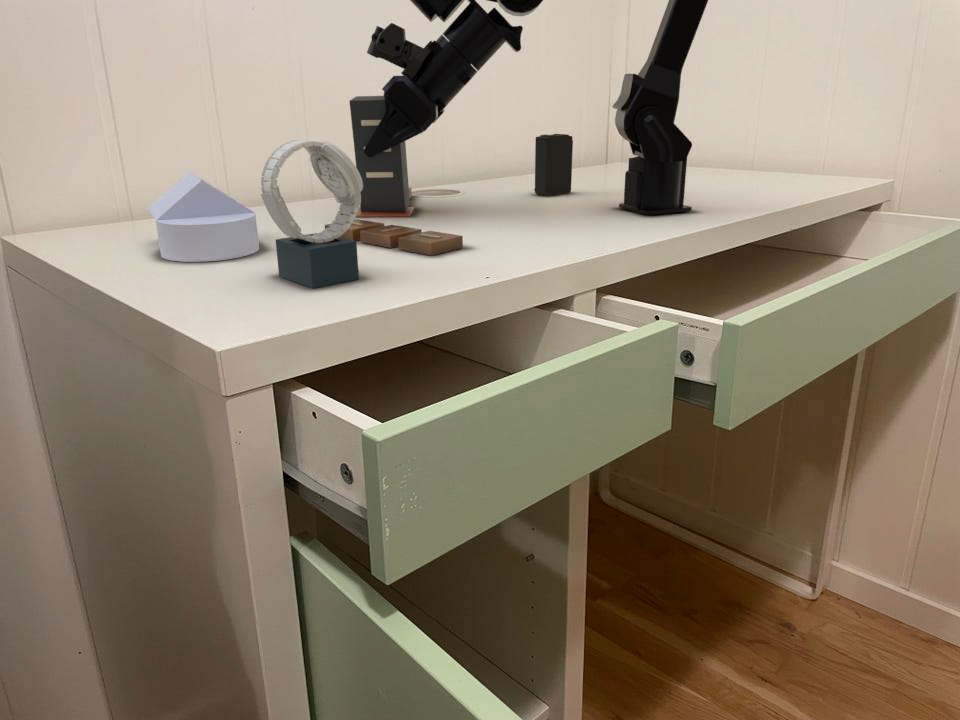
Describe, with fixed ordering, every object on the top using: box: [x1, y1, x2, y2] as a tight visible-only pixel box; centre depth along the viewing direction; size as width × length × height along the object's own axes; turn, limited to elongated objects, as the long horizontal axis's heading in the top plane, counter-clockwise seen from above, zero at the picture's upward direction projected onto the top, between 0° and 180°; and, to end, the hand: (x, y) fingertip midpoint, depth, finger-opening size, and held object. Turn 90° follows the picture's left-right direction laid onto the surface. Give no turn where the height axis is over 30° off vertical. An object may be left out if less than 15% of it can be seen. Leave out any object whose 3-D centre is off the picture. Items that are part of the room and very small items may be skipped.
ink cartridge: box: [533, 133, 574, 197], centre depth 108 cm, size 5×2×8 cm, turn 127°
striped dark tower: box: [349, 95, 411, 212], centre depth 93 cm, size 4×6×13 cm, turn 86°
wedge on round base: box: [147, 171, 260, 263], centre depth 76 cm, size 9×7×13 cm
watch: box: [260, 139, 363, 289], centre depth 63 cm, size 6×8×11 cm
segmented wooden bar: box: [324, 218, 464, 257], centre depth 78 cm, size 15×4×1 cm, turn 50°
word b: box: [355, 186, 415, 218], centre depth 100 cm, size 17×7×1 cm, turn 0°
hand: (369, 153), depth 93 cm, fingers closed on striped dark tower, 4 cm apart
